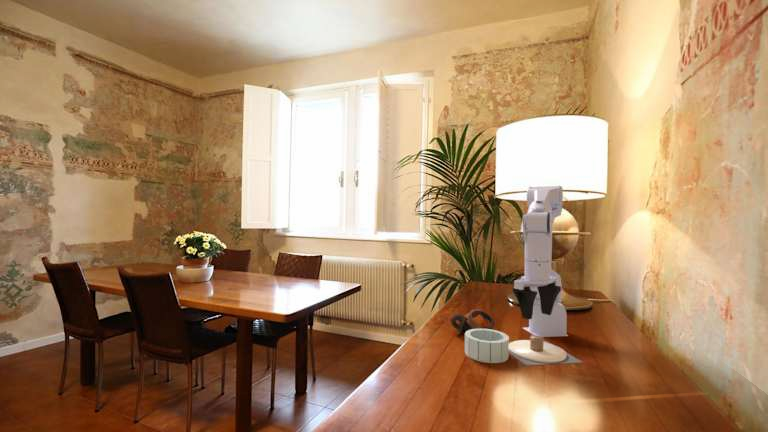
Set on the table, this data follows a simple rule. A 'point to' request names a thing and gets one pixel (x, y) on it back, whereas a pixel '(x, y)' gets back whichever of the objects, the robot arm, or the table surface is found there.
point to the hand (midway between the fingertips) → (536, 316)
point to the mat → (528, 362)
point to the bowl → (487, 345)
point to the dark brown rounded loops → (470, 321)
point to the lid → (537, 350)
